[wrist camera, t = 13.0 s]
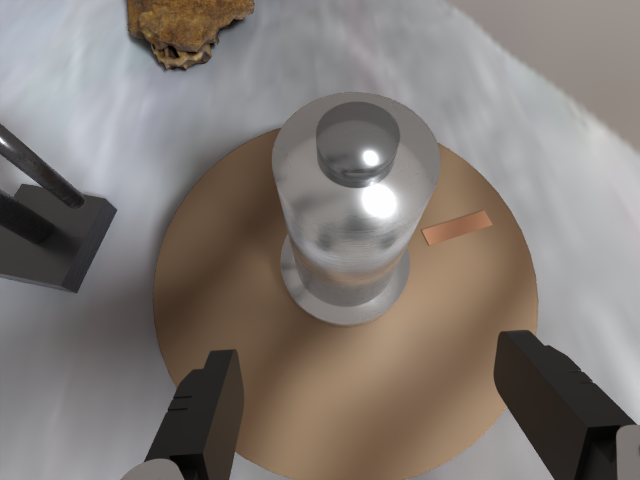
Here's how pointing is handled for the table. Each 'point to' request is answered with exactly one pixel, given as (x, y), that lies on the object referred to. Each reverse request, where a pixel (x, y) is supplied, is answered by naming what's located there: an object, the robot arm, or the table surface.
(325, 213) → the cover
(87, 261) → the stand
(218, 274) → the disc
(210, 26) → the decorative rock
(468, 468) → the table surface
